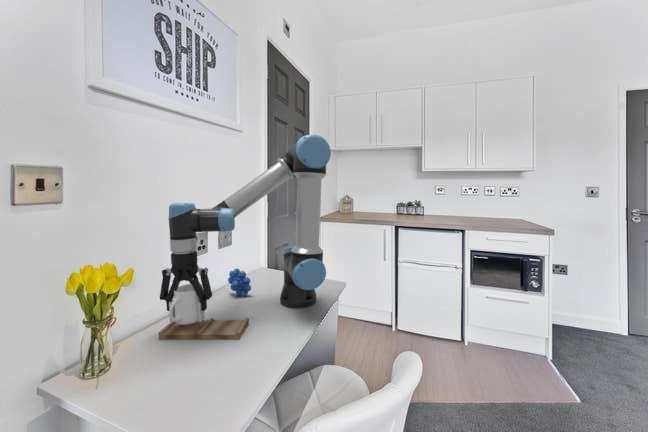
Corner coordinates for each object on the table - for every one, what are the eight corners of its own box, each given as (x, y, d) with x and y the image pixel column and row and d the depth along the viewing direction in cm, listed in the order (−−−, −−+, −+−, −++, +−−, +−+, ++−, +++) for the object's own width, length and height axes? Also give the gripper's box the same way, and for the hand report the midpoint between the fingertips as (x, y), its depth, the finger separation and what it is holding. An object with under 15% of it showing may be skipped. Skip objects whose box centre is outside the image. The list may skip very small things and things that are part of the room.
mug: (159, 328, 86) (158, 294, 85) (189, 312, 97) (188, 282, 96) (182, 332, 83) (180, 297, 82) (209, 315, 94) (208, 284, 94)
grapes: (222, 297, 120) (221, 270, 119) (232, 292, 126) (231, 266, 125) (245, 300, 116) (244, 272, 115) (254, 295, 122) (253, 268, 121)
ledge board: (248, 324, 95) (248, 317, 95) (239, 339, 85) (239, 332, 85) (176, 324, 95) (176, 317, 95) (158, 339, 85) (158, 332, 85)
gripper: (221, 248, 92) (224, 314, 94) (158, 249, 92) (161, 315, 94) (212, 253, 84) (215, 325, 86) (143, 254, 84) (147, 325, 86)
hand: (187, 320), depth 90 cm, fingers closed on mug, 8 cm apart
